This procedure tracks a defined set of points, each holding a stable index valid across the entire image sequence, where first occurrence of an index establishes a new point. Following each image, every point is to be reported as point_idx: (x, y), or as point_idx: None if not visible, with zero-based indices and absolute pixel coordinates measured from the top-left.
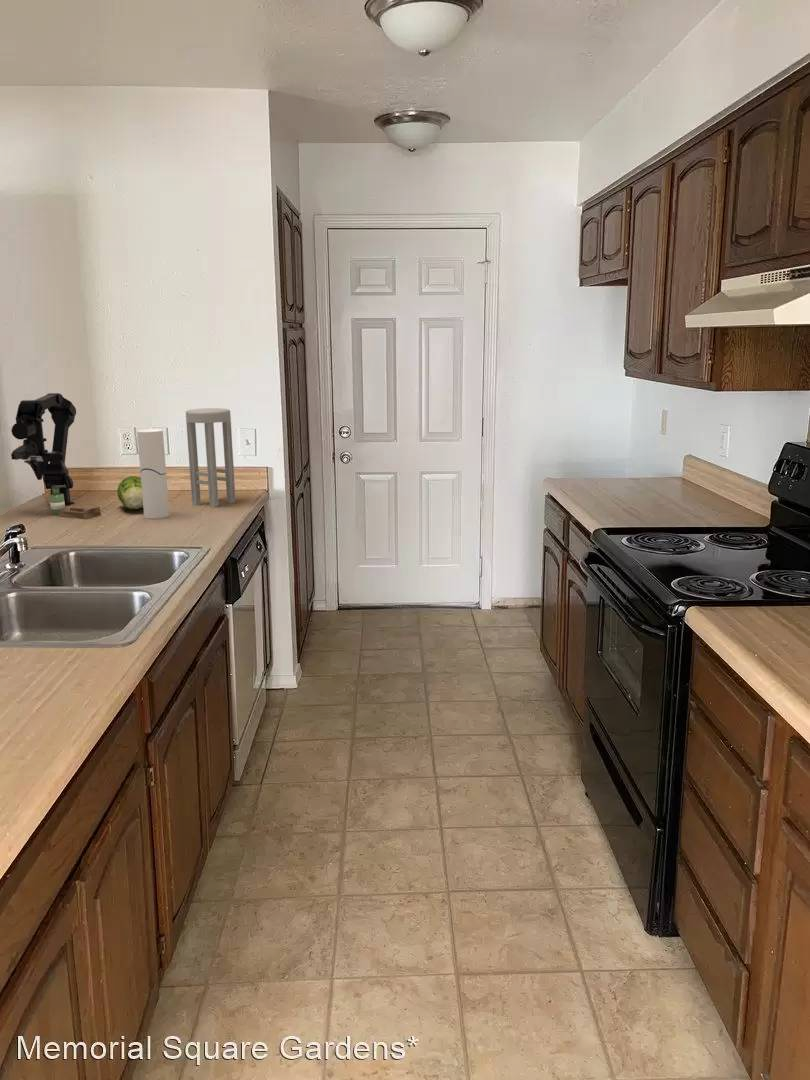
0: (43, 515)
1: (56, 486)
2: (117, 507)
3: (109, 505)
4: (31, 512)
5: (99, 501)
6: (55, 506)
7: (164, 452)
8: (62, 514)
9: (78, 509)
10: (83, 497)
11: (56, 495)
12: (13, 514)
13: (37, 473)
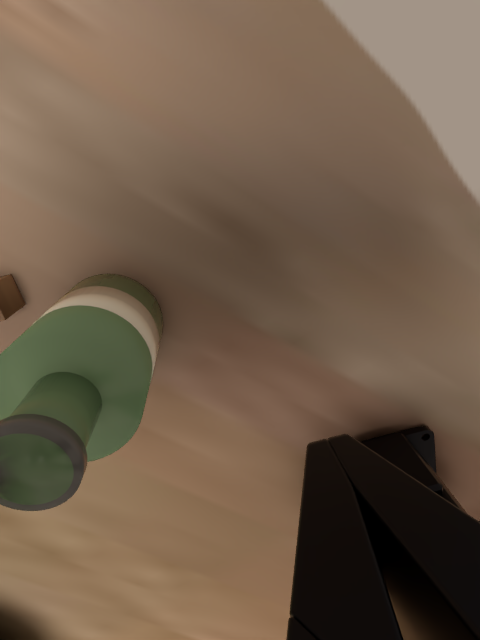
0: (154, 228)
1: (15, 477)
2: (19, 600)
3: (113, 599)
4: (337, 239)
5: (261, 610)
6: (47, 310)
7: None
8: None
9: None
10: None
11: (18, 382)
12: (400, 107)
13: (352, 533)
